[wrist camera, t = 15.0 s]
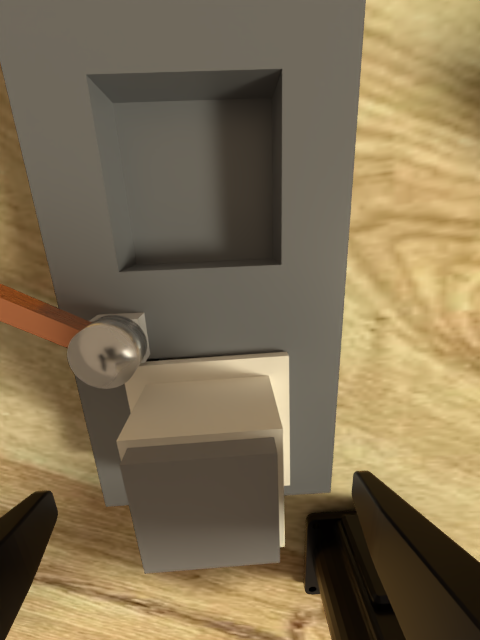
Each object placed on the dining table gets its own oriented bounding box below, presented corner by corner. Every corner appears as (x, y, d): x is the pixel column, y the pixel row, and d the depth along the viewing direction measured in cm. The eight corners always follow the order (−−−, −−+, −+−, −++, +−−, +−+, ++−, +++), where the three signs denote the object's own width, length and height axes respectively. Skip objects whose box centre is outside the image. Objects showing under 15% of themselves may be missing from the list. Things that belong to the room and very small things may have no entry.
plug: (280, 444, 15) (313, 582, 9) (160, 453, 15) (116, 598, 9) (278, 332, 13) (317, 416, 7) (141, 341, 13) (70, 434, 7)
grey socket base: (312, 445, 16) (336, 507, 12) (128, 456, 16) (98, 522, 12) (337, -125, 9) (405, -344, 6) (16, -121, 9) (-121, -344, 6)
